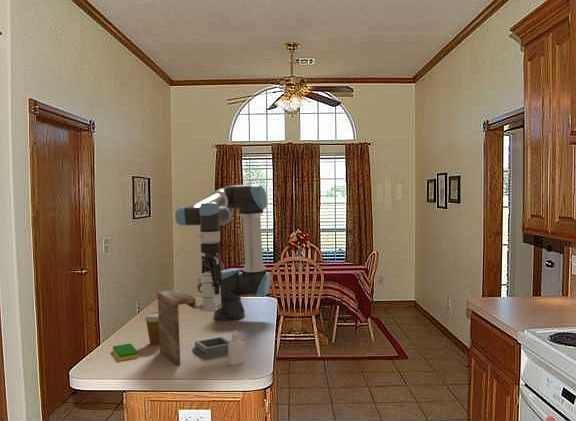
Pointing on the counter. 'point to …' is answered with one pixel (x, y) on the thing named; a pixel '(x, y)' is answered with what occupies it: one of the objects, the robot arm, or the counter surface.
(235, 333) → the eye dropper bottle
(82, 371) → the counter surface
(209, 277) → the syrup box
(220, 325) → the counter surface
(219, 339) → the socket
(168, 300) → the brown l-shaped bracket
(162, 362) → the counter surface
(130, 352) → the dish sponge
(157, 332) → the disposable coffee cup
